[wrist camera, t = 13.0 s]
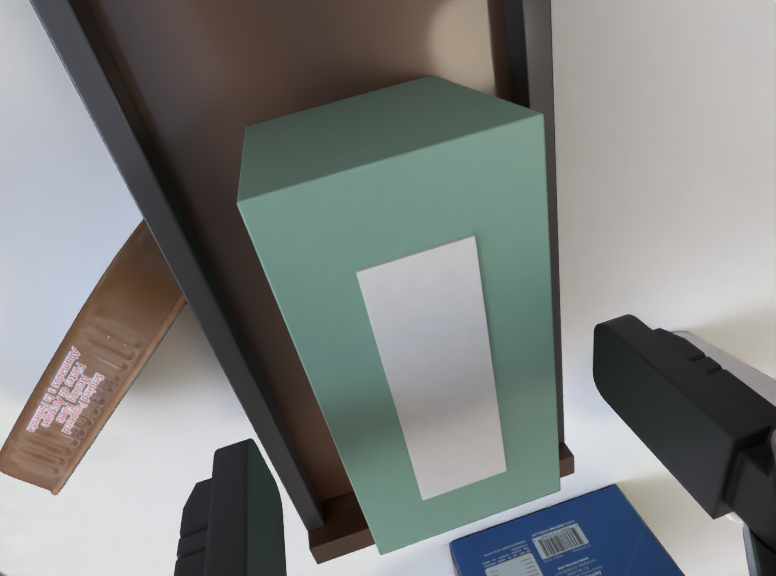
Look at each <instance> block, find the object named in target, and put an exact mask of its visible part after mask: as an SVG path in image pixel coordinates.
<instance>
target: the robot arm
mask: <svg viewBox="0 0 776 576" xmlns="http://www.w3.org/2000/svg"><path fill="white" fill-rule="evenodd" d="M593 378H594V382H595V385H596V387H597V389H598V391H599V393H600V394H601V396H602V397H603V399H604V400H605V401H606V402H607V403H608V404H609V405H610V406H611V408H612V409H613V410H614V411H615V412H616V413H617V414H618V415H619V416H620V417H621V419H622V420H623V421H624V422H625V423H626V424H627V425H628V426H629V427H630V428H631V430H632V431H633V432H634V433H635V434H636V435H637V436H638V437H639V438H640V439H641V441H642V442H643V443H644V444H645V445H646V446H647V447H648V448H649V449H650V450H651V452H652V453H653V454H654V455H655V456H656V457H657V458H658V459H659V460H660V461H661V463H662V464H663V465H664V466H665V467H666V468H667V469H668V470H669V471H670V472H671V474H672V475H673V476H674V477H675V478H676V479H677V480H678V481H679V482H680V483H681V485H682V486H683V487H684V488H685V489H686V490H687V491H688V492H689V493H690V494H691V496H692V497H693V498H694V499H695V500H696V501H697V502H698V503H699V504H700V505H701V507H702V508H703V509H704V510H705V511H706V512H707V513H708V514H709V515H710V516H711V518H712V519H713V520H714V519H716V518H719V517H721V516H724V515H727V514H729V513H732V512H735V513H736V514H737V515H738V516H739V517H740V518H741V519H742V521H743V522H744V525H743V538H744V544H745V550H746V556H747V563H748V569H749V575H750V576H776V406H774V405H773V404H772V403H770V402H769V401H768V400H766V399H765V398H764V397H762V396H761V395H760V394H758V393H757V392H756V391H754V390H753V389H752V388H750V387H749V386H748V385H746V384H745V383H744V382H742V381H741V380H740V379H738V378H737V377H736V376H734V375H733V374H732V373H730V372H729V371H728V370H726V369H722V367H721V365H720V364H719V363H717V362H716V361H715V360H713V359H712V358H711V357H709V356H708V357H706V355H705V353H704V352H703V351H701V350H700V349H699V348H697V347H696V346H695V345H693V344H692V343H691V342H689V341H688V340H687V339H685V338H683V337H681V336H678V335H676V334H673V333H671V332H668V331H666V330H663V329H661V328H658V329H655V330H652V329H650V328H649V327H648V326H647V325H645V324H644V323H643V322H642V321H640V320H639V319H638V318H636V317H635V316H633V315H630V314H627V315H624V316H621V317H618V318H615V319H612V320H609V321H606V322H603V323H600V324H597V325H596V326H595V329H594V347H593ZM180 536H181V538H180V539H179V543H178V550H177V557H178V560H177V561H176V564H175V572H174V576H287V574H286V557H285V541H284V524H283V509H282V502H281V497H280V493H279V490H278V487H277V484H276V482H275V479H274V477H273V476H272V474H271V472H270V470H269V468H268V466H267V464H266V462H265V460H264V458H263V456H262V455H261V453H260V451H259V449H258V447H257V445H256V443H255V442H254V440H253V439H251V438H250V439H247V440H244V441H241V442H238V443H235V444H232V445H229V446H226V447H223V448H220V449H217V450H216V451H215V454H214V460H213V472H212V478H210V479H207V480H204V481H202V482H199V483H196V485H195V487H194V489H193V491H192V493H191V495H190V496H189V498H188V500H187V502H186V504H185V506H184V508H183V514H182V521H181V529H180Z"/></svg>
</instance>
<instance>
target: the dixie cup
mask: <svg viewBox="0 0 776 576" xmlns="http://www.w3.org/2000/svg"><path fill="white" fill-rule="evenodd" d="M673 334H676V335H678V336H681V337H683V338H685V339H687V340H688V341H689V342H691V343H692V344H693V345H695V346H696V347H697V348H699V349H700V350H701V351H703V352H704V353H705V355H706V357H708V356H709V357H711V358H712V359H713V360H715V361H716V362H717V363H719V364H720V365H721V367H722V369H726V370H728V371H729V372H730V373H732V374H733V375H734V376H736V377H737V378H738V379H740V380H741V381H742V382H744V383H745V384H746V385H748V386H749V387H750V388H752V389H753V390H754V391H756V392H757V393H758V394H760V395H761V396H762V397H764V398H765V399H766V400H768V401H769V402H770V403H772V404H773V405H774V406H776V380H774V379H773V378H771V377H769V376H767V375H765V374H764V373H762V372H760V371H758V370H756V369H755V368H753V367H751V366H749V365H747V364H746V363H744V362H742V361H740V360H738V359H737V358H735V357H733V356H731V355H729V354H728V353H726V352H724V351H722V350H720V349H719V348H717V347H715V346H713V345H711V344H710V343H708V342H706V341H704V340H702V339H701V338H699V337H697V336H695V335H693V334H691V333H689V332H673ZM725 516H726V517H727V518H729V519H730V520H732V521H734V522H737V523H742V524H744V522H743V521H742V519H741V518H740V517H739V516H738V515H737V514H736V513H735V512H732V513H729V514H727V515H725Z"/></svg>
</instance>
